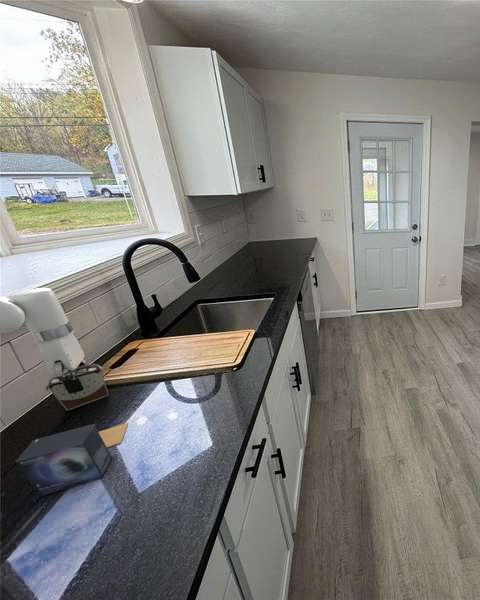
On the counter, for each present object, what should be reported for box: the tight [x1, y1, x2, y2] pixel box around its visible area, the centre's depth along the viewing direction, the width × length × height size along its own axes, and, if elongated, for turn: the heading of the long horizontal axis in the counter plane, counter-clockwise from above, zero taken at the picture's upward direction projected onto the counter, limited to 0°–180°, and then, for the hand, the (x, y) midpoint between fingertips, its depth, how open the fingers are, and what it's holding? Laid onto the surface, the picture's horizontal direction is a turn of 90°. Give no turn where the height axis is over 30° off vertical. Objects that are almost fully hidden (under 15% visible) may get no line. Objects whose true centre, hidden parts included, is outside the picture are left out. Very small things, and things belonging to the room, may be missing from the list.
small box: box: [15, 423, 114, 498], centre depth 67 cm, size 11×6×10 cm, turn 114°
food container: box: [45, 363, 110, 412], centre depth 94 cm, size 12×6×10 cm, turn 133°
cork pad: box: [98, 422, 129, 449], centre depth 78 cm, size 13×8×1 cm, turn 119°
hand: (81, 384), depth 94 cm, fingers open, 7 cm apart
